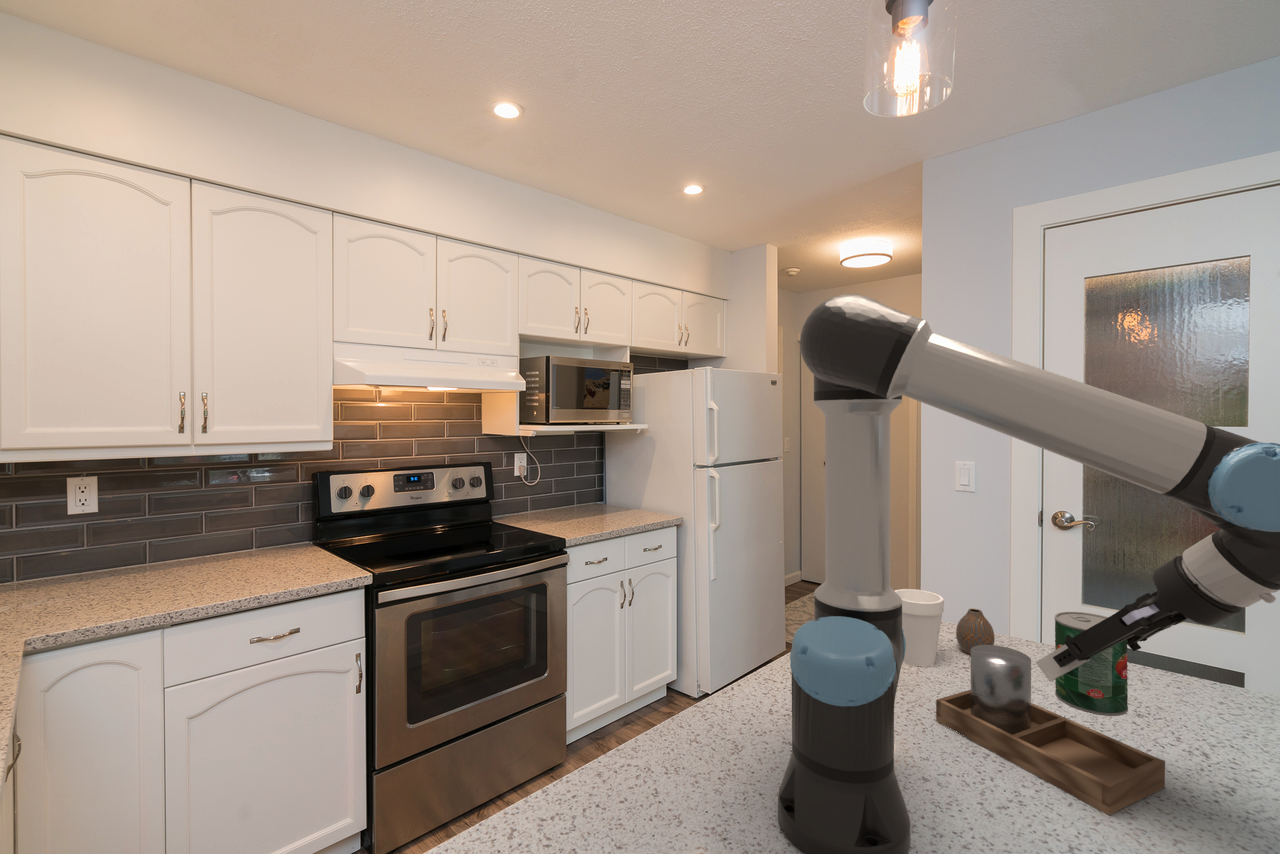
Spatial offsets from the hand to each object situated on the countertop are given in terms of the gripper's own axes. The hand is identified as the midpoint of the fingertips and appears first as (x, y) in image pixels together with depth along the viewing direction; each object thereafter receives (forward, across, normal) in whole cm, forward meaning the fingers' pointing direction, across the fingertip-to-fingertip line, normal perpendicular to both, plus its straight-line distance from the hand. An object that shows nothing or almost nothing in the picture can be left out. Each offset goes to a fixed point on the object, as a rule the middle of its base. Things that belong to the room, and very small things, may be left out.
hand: (1063, 665), depth 83 cm
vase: (+32, +24, +12) cm, 42 cm away
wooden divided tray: (+12, 0, -8) cm, 14 cm away
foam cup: (+33, +10, +14) cm, 37 cm away
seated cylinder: (+16, 0, -3) cm, 16 cm away
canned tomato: (0, 0, -5) cm, 5 cm away
